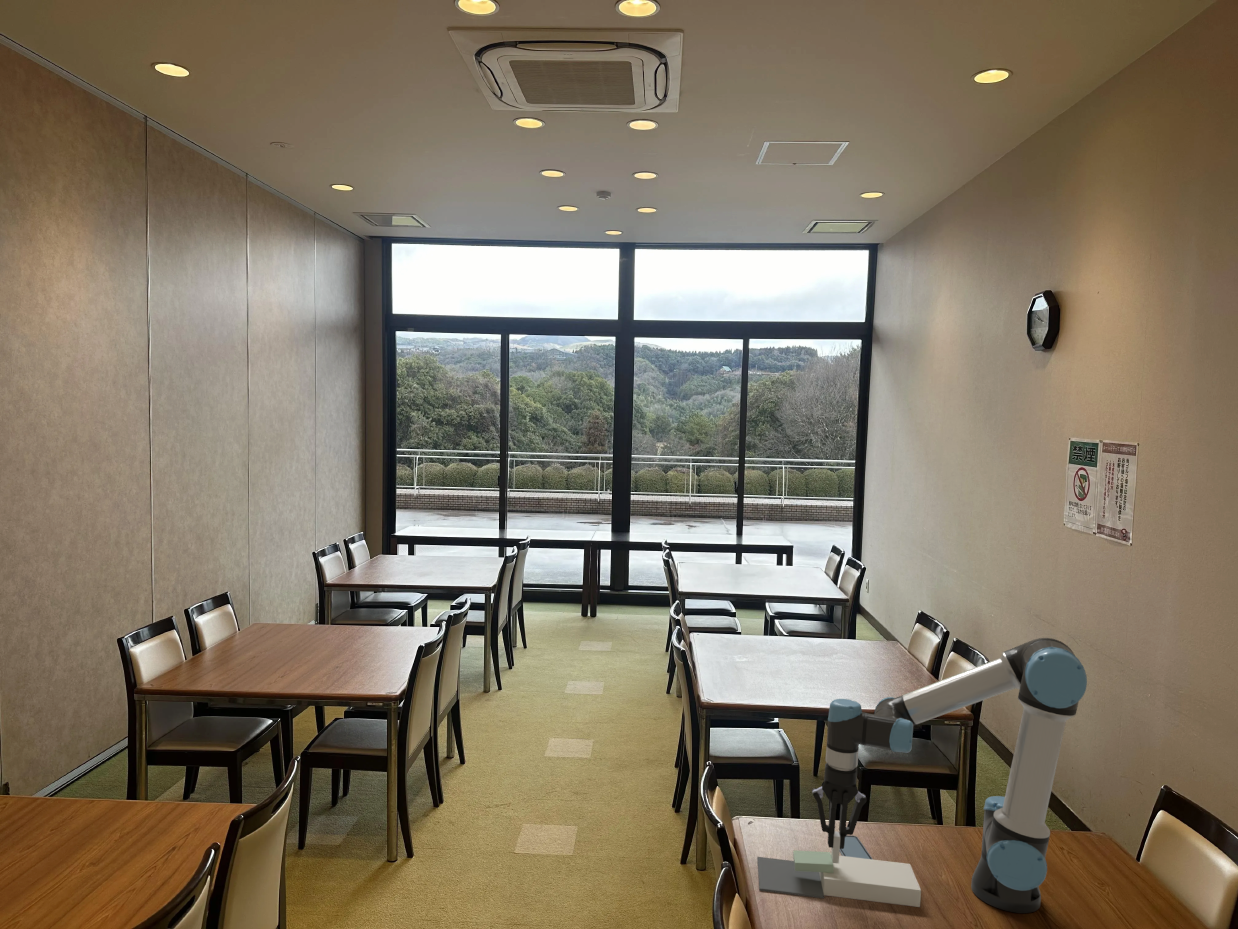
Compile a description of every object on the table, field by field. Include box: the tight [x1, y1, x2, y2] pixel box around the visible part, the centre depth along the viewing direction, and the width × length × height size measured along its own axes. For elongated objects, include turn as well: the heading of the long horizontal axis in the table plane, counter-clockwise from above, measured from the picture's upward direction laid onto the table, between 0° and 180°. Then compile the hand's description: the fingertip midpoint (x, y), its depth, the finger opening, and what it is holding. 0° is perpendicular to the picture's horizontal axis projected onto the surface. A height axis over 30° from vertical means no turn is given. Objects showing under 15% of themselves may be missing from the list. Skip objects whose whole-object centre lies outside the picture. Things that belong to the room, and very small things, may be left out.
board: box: [819, 855, 922, 908], centre depth 197 cm, size 22×12×4 cm, turn 82°
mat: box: [757, 856, 825, 899], centre depth 200 cm, size 15×15×1 cm
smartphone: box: [839, 834, 873, 859], centre depth 215 cm, size 7×1×15 cm
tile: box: [792, 850, 833, 873], centre depth 199 cm, size 9×6×2 cm, turn 82°
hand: (834, 860), depth 198 cm, fingers closed
